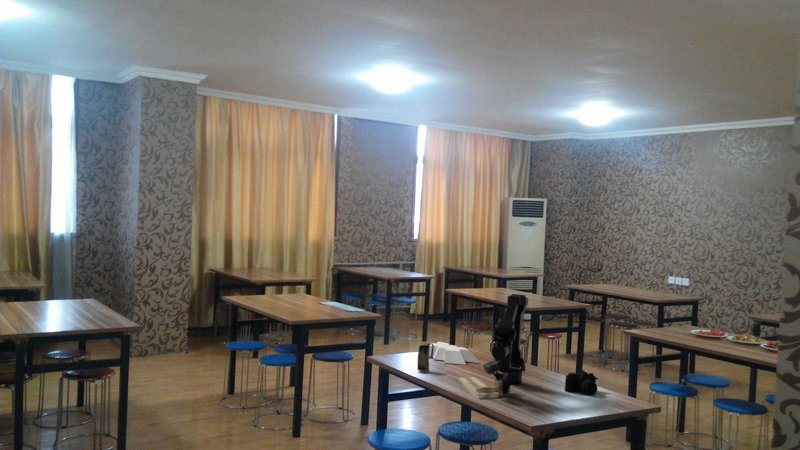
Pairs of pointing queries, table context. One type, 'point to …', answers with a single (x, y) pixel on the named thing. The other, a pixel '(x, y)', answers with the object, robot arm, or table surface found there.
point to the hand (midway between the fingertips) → (502, 392)
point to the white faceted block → (451, 353)
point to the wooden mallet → (495, 388)
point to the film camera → (581, 383)
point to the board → (471, 385)
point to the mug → (424, 357)
